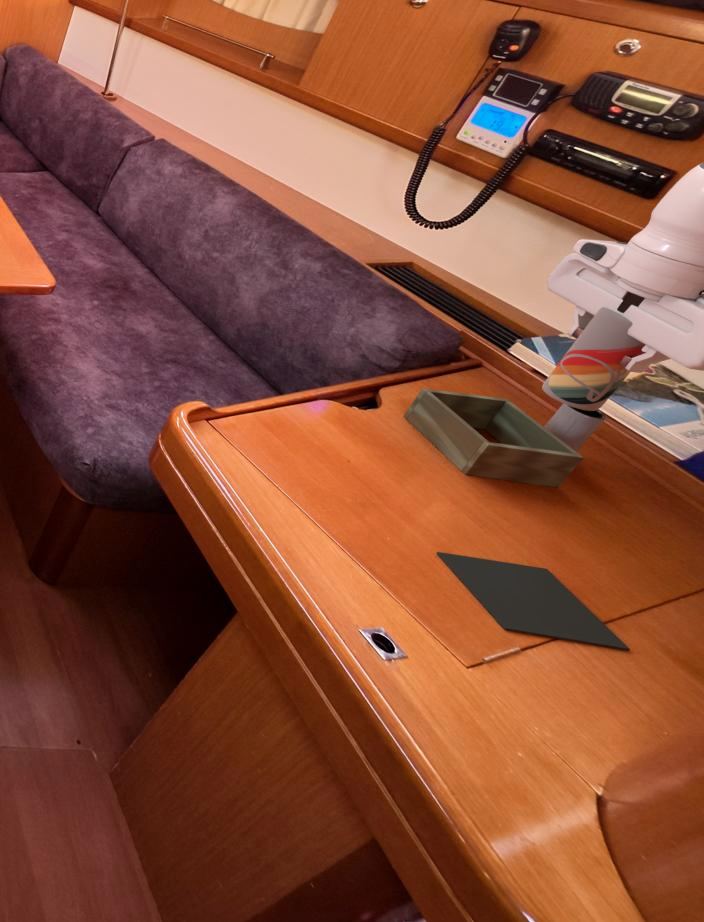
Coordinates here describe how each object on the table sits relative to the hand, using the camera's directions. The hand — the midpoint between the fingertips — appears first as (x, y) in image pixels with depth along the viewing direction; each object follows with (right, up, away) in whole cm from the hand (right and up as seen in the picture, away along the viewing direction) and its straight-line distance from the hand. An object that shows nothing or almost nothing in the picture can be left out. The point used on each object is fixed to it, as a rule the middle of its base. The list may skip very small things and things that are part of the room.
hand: (602, 352), depth 89 cm
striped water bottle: (0, -8, +4) cm, 9 cm away
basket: (+6, -22, +21) cm, 31 cm away
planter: (+19, -23, +21) cm, 36 cm away
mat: (-16, -34, -3) cm, 37 cm away
